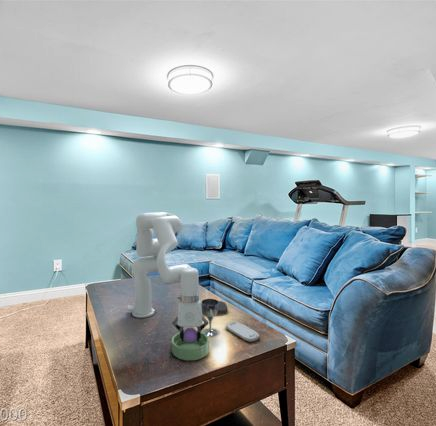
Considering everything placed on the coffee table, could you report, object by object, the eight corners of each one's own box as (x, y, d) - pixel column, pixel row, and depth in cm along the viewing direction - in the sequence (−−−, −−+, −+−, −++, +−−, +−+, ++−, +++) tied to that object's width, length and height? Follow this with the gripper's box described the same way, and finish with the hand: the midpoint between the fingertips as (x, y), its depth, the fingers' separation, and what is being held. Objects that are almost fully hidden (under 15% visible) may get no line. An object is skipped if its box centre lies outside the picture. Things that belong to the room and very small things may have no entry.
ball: (182, 345, 111) (182, 331, 111) (183, 338, 117) (183, 324, 117) (197, 346, 111) (197, 331, 110) (197, 338, 117) (197, 324, 116)
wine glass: (213, 338, 124) (213, 306, 124) (199, 333, 128) (198, 302, 128) (221, 331, 131) (221, 300, 130) (207, 327, 135) (206, 297, 135)
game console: (223, 323, 134) (235, 319, 138) (223, 328, 134) (235, 324, 138) (249, 339, 118) (262, 334, 123) (249, 344, 118) (262, 339, 123)
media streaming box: (228, 314, 150) (228, 309, 150) (202, 315, 149) (202, 310, 149) (223, 304, 164) (223, 299, 164) (199, 305, 163) (199, 300, 163)
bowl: (170, 361, 106) (169, 349, 106) (173, 341, 122) (173, 330, 122) (209, 362, 106) (209, 349, 106) (208, 341, 122) (208, 330, 121)
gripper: (168, 301, 110) (169, 344, 110) (210, 301, 109) (211, 344, 110) (170, 294, 117) (171, 335, 118) (210, 294, 116) (210, 335, 117)
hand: (190, 339), depth 114 cm, fingers closed on ball, 5 cm apart
